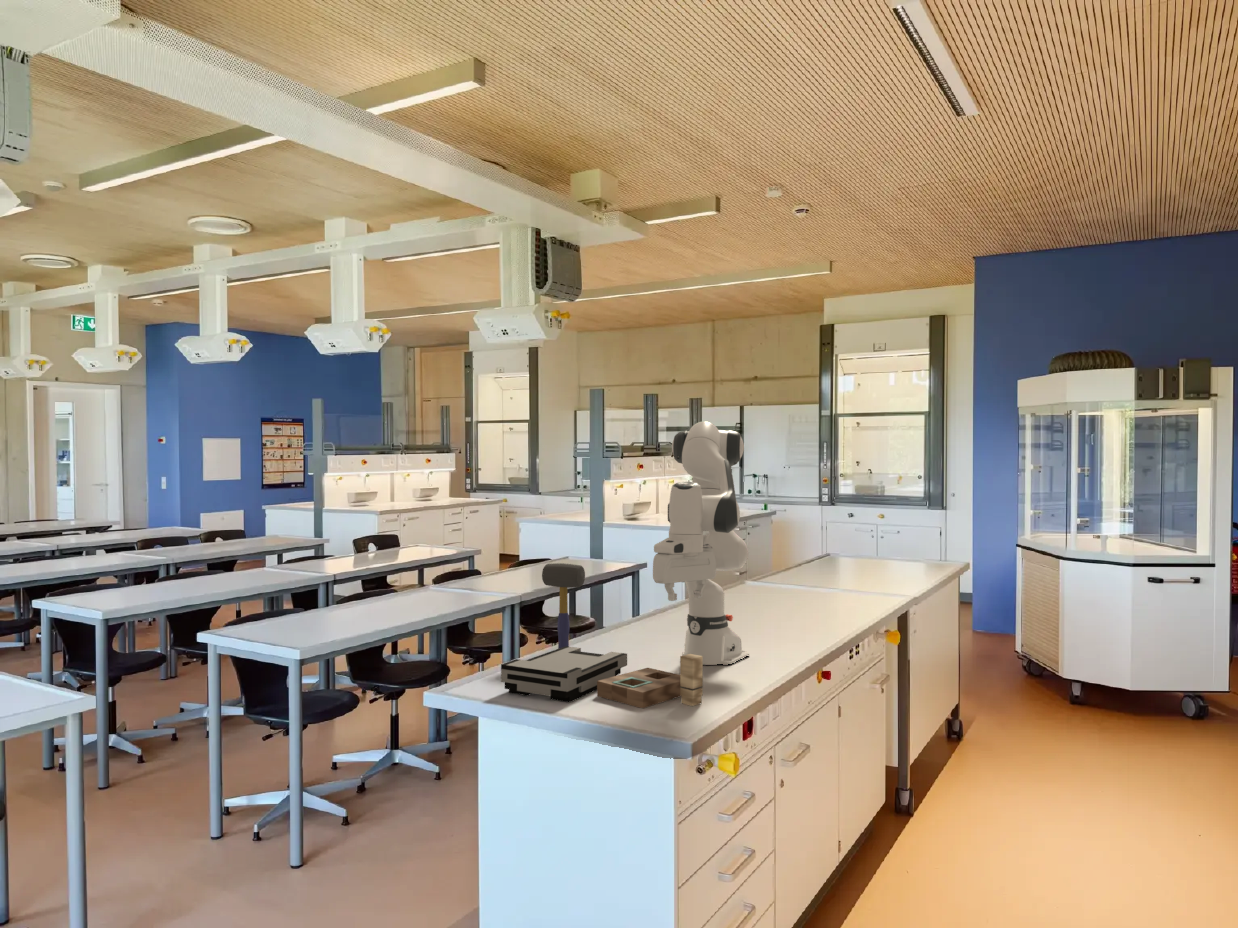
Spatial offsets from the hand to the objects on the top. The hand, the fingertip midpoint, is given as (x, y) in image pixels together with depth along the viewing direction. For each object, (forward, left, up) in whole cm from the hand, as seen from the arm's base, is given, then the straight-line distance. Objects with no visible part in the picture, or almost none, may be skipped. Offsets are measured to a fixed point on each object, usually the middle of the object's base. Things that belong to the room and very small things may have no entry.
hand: (685, 598), depth 214 cm
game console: (+10, -34, -27) cm, 44 cm away
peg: (0, +2, -26) cm, 26 cm away
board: (+2, -12, -26) cm, 29 cm away
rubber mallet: (-10, -57, -27) cm, 63 cm away
